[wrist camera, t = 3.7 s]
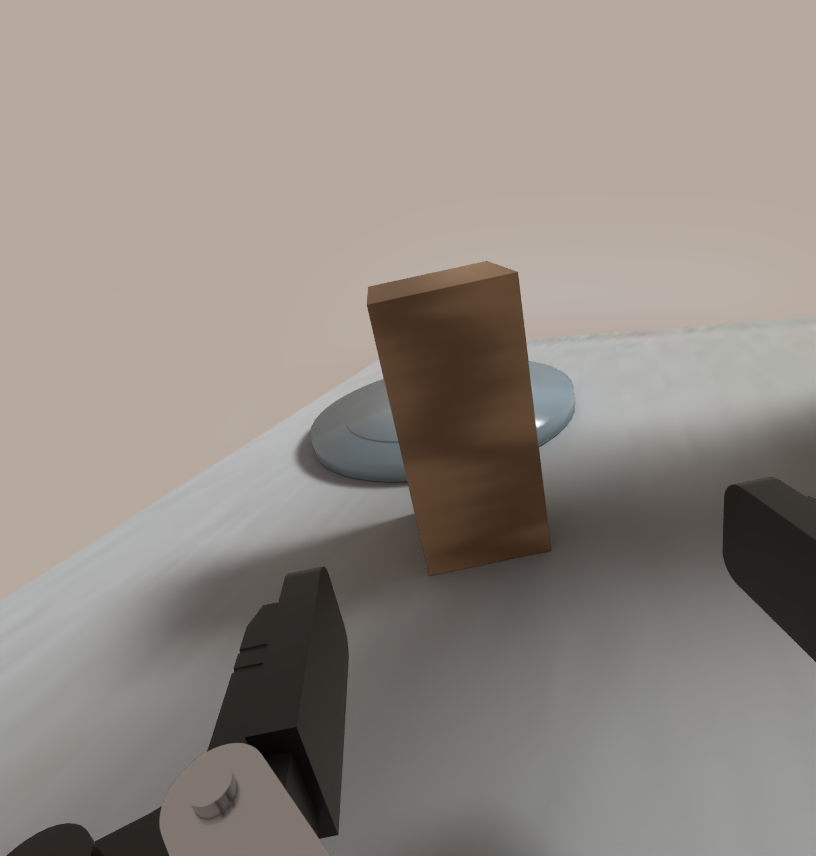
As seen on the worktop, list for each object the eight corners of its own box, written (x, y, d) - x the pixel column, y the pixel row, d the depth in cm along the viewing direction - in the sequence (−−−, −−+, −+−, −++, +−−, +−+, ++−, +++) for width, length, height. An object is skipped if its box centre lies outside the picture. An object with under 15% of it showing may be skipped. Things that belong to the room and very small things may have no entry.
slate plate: (585, 365, 40) (583, 348, 40) (557, 483, 25) (555, 458, 25) (378, 381, 48) (375, 367, 47) (262, 480, 33) (255, 461, 32)
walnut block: (518, 490, 26) (486, 261, 22) (550, 550, 21) (517, 271, 17) (418, 511, 26) (368, 286, 22) (429, 576, 21) (367, 304, 17)
